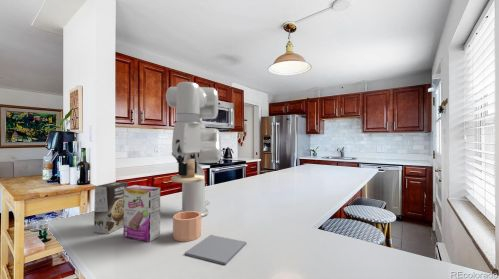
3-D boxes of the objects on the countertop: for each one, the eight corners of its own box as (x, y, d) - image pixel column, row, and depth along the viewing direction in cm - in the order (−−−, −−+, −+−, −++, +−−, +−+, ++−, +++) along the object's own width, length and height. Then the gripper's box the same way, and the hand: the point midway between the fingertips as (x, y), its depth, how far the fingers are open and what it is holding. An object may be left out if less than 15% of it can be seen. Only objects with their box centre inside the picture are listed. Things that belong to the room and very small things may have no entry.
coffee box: (109, 234, 76) (109, 186, 76) (93, 232, 78) (93, 185, 78) (128, 224, 85) (129, 181, 85) (114, 223, 87) (114, 181, 87)
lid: (185, 176, 83) (185, 157, 83) (210, 178, 79) (210, 158, 79) (164, 181, 73) (164, 159, 73) (190, 183, 69) (190, 161, 69)
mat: (210, 236, 75) (210, 234, 75) (246, 243, 70) (246, 241, 70) (184, 254, 63) (184, 252, 63) (225, 264, 58) (225, 262, 58)
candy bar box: (122, 237, 74) (122, 187, 74) (134, 232, 78) (135, 184, 79) (149, 243, 70) (150, 190, 70) (160, 236, 75) (161, 187, 75)
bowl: (185, 228, 81) (185, 209, 81) (206, 232, 78) (206, 213, 78) (167, 238, 73) (167, 217, 73) (189, 243, 70) (189, 221, 70)
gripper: (194, 121, 85) (194, 170, 85) (160, 118, 70) (160, 177, 70) (211, 121, 82) (211, 171, 82) (180, 117, 67) (179, 179, 67)
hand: (187, 173), depth 76 cm, fingers closed on lid, 4 cm apart
